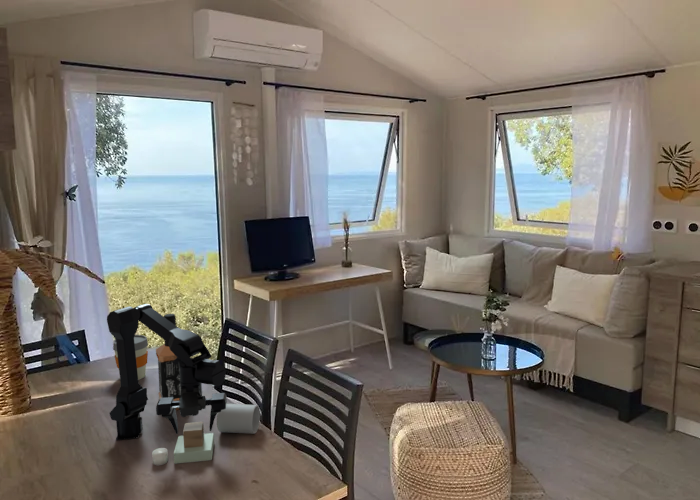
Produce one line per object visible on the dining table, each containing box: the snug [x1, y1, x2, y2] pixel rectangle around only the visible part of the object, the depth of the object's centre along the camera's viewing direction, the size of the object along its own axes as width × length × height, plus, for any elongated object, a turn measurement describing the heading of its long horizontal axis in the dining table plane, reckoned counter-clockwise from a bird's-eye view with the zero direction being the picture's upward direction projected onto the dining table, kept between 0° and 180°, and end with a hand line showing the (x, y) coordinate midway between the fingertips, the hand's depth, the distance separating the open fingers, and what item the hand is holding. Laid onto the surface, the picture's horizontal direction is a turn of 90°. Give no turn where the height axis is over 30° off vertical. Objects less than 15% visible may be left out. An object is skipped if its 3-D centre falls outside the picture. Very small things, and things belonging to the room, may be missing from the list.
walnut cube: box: [182, 421, 205, 448], centre depth 157 cm, size 5×5×5 cm
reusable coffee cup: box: [112, 334, 149, 381], centre depth 214 cm, size 13×12×15 cm
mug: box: [216, 403, 261, 435], centre depth 171 cm, size 12×8×11 cm
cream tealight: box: [151, 447, 169, 466], centre depth 153 cm, size 4×4×3 cm
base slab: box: [173, 432, 215, 465], centre depth 158 cm, size 10×10×3 cm
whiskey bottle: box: [155, 313, 181, 412], centre depth 187 cm, size 10×10×32 cm
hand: (194, 432), depth 157 cm, fingers open, 9 cm apart
